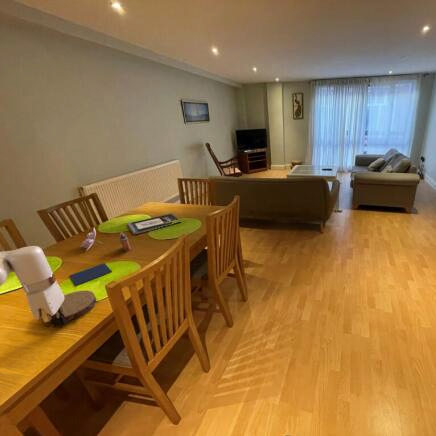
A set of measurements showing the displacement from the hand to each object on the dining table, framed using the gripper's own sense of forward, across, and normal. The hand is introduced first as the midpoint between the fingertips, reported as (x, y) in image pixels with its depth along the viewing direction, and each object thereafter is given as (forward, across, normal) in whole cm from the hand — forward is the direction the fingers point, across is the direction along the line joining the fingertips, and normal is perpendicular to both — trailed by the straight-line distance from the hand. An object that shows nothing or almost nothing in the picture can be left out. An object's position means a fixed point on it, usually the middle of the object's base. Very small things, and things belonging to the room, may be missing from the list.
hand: (60, 324), depth 85 cm
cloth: (+2, -36, -1) cm, 36 cm away
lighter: (+2, -57, +11) cm, 58 cm away
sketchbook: (+2, -91, +22) cm, 94 cm away
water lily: (+2, -70, -9) cm, 70 cm away
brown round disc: (+2, -10, 0) cm, 10 cm away
